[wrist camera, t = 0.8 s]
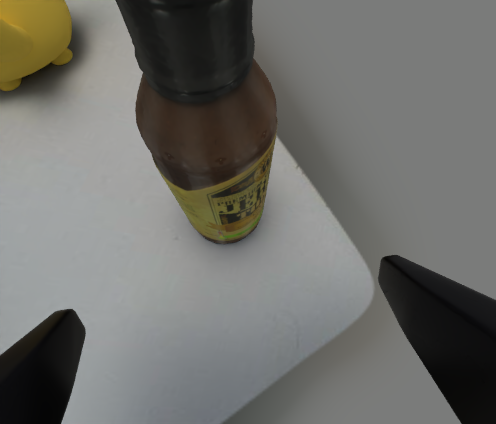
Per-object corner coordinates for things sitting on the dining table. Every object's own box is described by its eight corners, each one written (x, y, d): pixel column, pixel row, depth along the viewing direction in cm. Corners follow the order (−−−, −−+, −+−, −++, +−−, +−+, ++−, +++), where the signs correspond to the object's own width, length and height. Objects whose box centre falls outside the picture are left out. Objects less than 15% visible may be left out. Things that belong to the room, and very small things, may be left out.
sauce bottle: (238, 260, 22) (178, 32, 4) (176, 222, 24) (-116, -107, 5) (276, 198, 24) (373, -175, 5) (218, 165, 25) (126, -241, 6)
